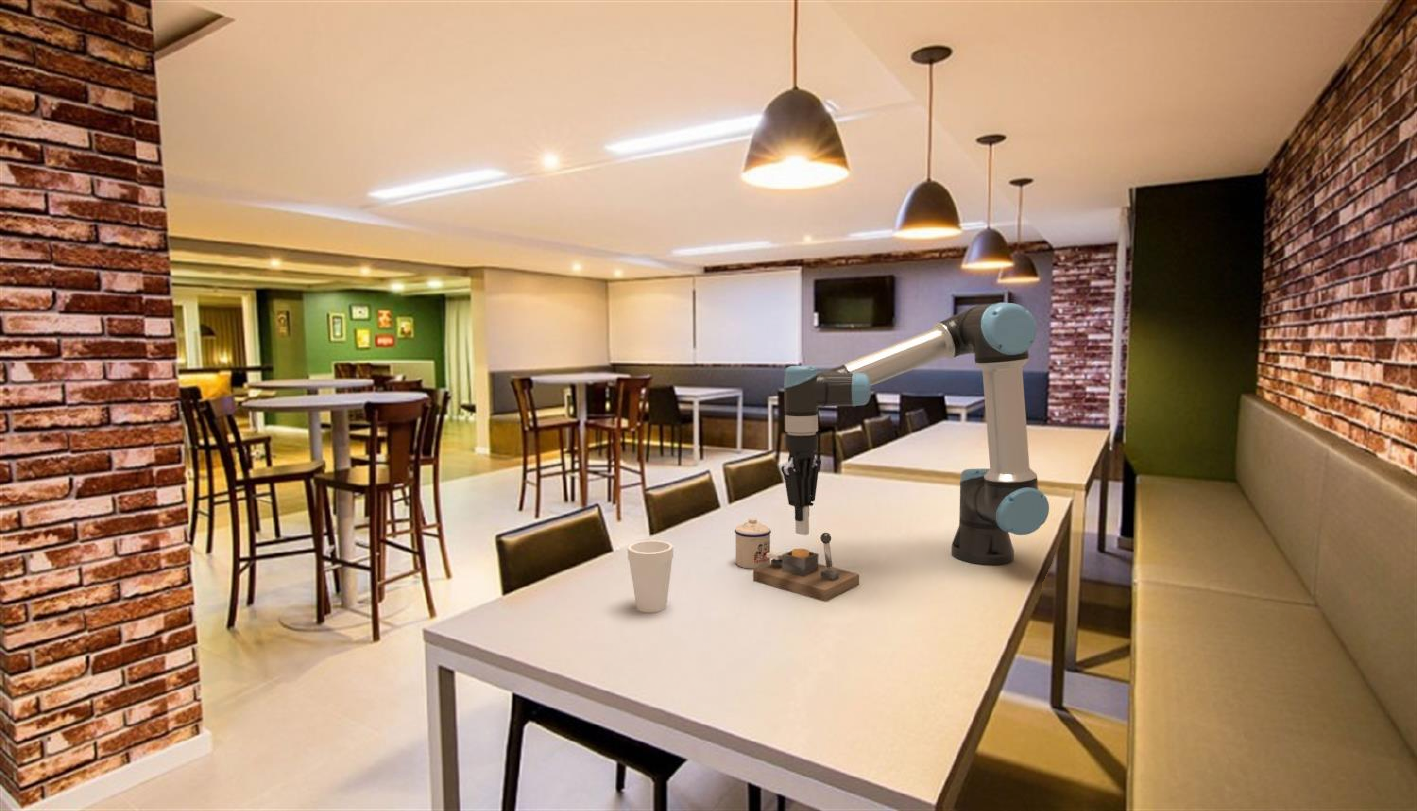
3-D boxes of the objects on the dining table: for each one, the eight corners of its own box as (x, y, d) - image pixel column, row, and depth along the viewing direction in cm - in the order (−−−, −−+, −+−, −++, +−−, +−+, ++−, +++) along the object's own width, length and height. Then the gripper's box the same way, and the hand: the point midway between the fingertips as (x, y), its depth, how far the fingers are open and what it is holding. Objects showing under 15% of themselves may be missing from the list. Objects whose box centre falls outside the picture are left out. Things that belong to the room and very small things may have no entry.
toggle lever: (837, 567, 156) (832, 532, 153) (831, 572, 154) (826, 536, 152) (828, 565, 157) (823, 530, 155) (822, 569, 155) (817, 534, 153)
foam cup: (638, 618, 140) (637, 556, 139) (622, 603, 148) (621, 544, 147) (680, 610, 144) (680, 549, 143) (663, 595, 152) (662, 538, 151)
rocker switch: (792, 558, 166) (793, 554, 166) (777, 560, 162) (777, 555, 162) (782, 555, 168) (782, 551, 168) (766, 557, 164) (766, 552, 164)
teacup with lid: (758, 572, 168) (758, 525, 167) (727, 565, 173) (727, 519, 172) (782, 559, 178) (783, 515, 177) (752, 553, 183) (752, 510, 182)
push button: (812, 563, 161) (812, 551, 161) (802, 567, 158) (802, 554, 158) (798, 560, 164) (798, 547, 163) (788, 563, 161) (788, 551, 161)
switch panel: (859, 584, 159) (859, 557, 158) (825, 601, 148) (826, 572, 148) (788, 566, 172) (788, 540, 172) (753, 580, 162) (753, 553, 161)
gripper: (804, 428, 165) (804, 525, 168) (771, 435, 156) (772, 537, 158) (830, 431, 160) (831, 530, 163) (798, 437, 151) (799, 542, 153)
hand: (802, 533), depth 160 cm, fingers closed
